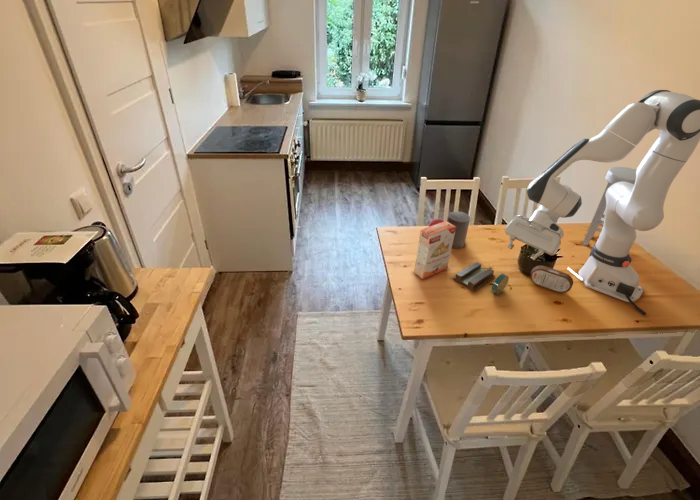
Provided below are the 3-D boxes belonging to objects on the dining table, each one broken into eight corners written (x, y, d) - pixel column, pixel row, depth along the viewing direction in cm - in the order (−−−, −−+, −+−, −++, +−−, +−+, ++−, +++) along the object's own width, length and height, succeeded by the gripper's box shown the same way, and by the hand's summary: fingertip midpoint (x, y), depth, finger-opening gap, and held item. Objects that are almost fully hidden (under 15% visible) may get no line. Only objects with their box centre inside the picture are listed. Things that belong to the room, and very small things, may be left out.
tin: (569, 292, 149) (576, 275, 144) (567, 297, 147) (575, 279, 142) (528, 278, 156) (534, 261, 151) (527, 282, 154) (533, 265, 149)
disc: (505, 289, 150) (510, 272, 146) (494, 297, 146) (499, 280, 141) (501, 286, 151) (506, 270, 147) (489, 294, 147) (494, 278, 143)
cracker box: (423, 280, 153) (430, 236, 142) (413, 272, 158) (419, 228, 146) (448, 269, 160) (457, 226, 148) (438, 262, 164) (445, 219, 153)
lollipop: (441, 245, 176) (446, 216, 167) (443, 254, 169) (448, 225, 161) (424, 244, 176) (429, 215, 168) (425, 253, 170) (430, 223, 162)
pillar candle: (442, 245, 175) (447, 217, 167) (444, 235, 183) (449, 207, 175) (464, 249, 173) (470, 220, 165) (465, 238, 181) (471, 210, 173)
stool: (584, 231, 189) (613, 163, 170) (620, 243, 181) (654, 173, 161) (576, 244, 179) (605, 173, 160) (613, 256, 171) (648, 184, 151)
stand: (494, 277, 156) (496, 271, 154) (474, 291, 148) (475, 285, 147) (473, 266, 162) (474, 260, 161) (453, 278, 155) (454, 273, 153)
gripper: (514, 209, 151) (494, 238, 151) (566, 231, 138) (544, 262, 138) (517, 216, 156) (498, 244, 156) (567, 237, 143) (546, 268, 143)
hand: (520, 253), depth 147 cm, fingers open, 8 cm apart
